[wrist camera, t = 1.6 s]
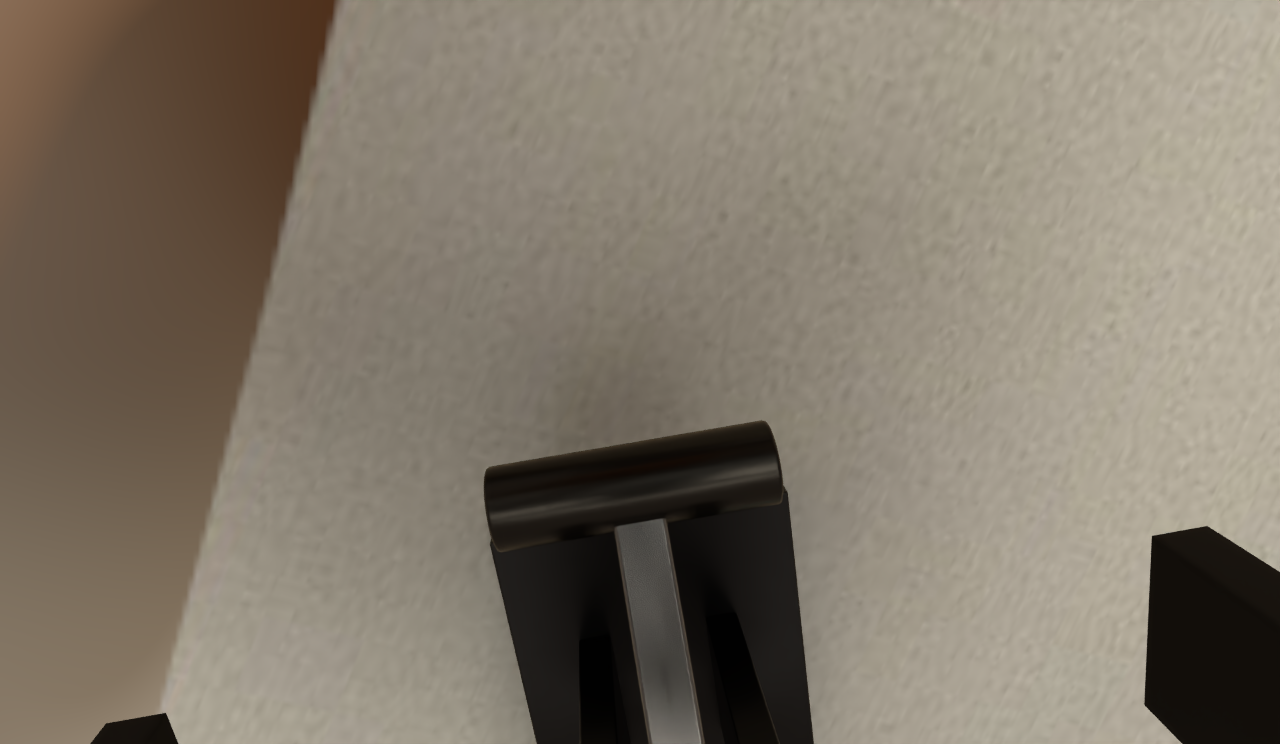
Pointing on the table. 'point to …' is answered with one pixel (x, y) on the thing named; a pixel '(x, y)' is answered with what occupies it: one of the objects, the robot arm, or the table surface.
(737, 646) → the bracket
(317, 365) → the table surface
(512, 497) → the lever
